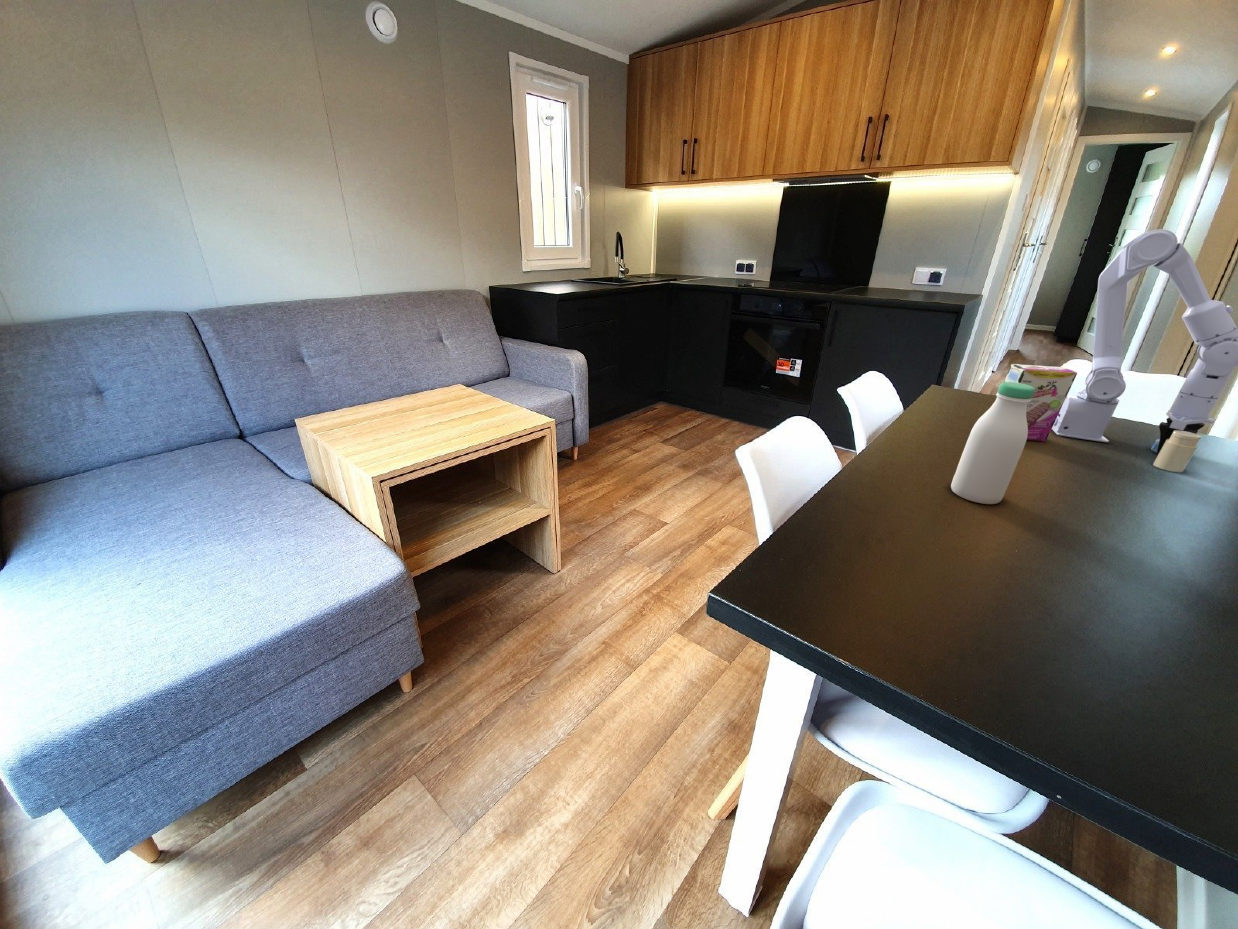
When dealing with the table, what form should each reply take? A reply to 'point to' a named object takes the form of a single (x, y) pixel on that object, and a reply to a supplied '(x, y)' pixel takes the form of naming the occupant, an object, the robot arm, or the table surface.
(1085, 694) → the table surface
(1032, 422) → the candy bar box
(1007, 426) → the milk bottle
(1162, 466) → the jam jar
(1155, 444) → the jam lid
